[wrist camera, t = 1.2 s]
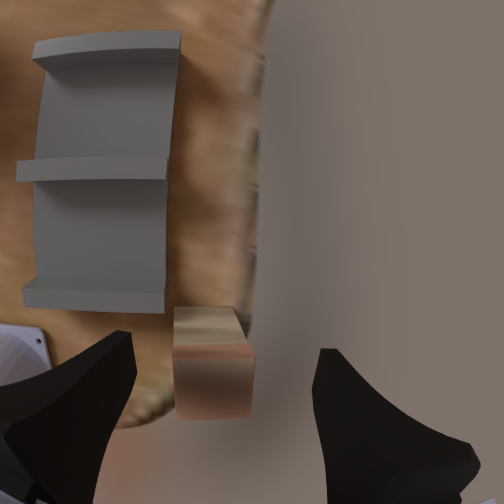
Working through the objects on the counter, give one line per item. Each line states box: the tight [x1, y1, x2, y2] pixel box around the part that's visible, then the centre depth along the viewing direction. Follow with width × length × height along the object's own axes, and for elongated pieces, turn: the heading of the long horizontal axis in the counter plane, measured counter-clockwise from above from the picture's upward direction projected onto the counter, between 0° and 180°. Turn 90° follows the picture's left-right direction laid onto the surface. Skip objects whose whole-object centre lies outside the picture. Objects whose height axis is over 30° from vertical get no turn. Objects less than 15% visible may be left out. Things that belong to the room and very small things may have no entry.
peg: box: [172, 306, 255, 420], centre depth 19 cm, size 4×4×7 cm
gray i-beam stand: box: [16, 30, 181, 314], centre depth 17 cm, size 16×9×4 cm, turn 176°
